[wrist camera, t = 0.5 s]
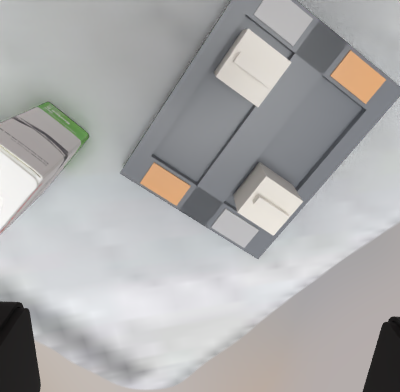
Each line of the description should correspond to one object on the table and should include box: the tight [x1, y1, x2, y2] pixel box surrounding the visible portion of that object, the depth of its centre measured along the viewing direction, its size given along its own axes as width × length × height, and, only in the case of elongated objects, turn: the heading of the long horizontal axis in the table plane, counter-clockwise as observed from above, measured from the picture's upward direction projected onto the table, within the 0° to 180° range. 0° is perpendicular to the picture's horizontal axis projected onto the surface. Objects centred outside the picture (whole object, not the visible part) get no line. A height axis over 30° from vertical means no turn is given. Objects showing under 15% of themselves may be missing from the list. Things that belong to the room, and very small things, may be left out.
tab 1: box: [214, 29, 292, 107], centre depth 30 cm, size 4×4×5 cm
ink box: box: [0, 102, 89, 234], centre depth 30 cm, size 9×5×12 cm, turn 137°
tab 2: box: [233, 162, 303, 236], centre depth 34 cm, size 4×4×5 cm
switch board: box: [120, 0, 400, 259], centre depth 34 cm, size 20×16×2 cm
